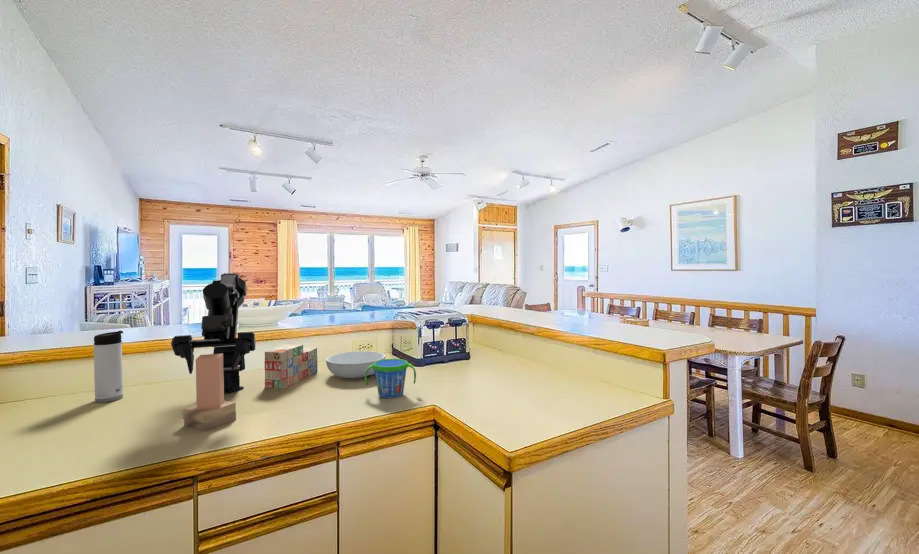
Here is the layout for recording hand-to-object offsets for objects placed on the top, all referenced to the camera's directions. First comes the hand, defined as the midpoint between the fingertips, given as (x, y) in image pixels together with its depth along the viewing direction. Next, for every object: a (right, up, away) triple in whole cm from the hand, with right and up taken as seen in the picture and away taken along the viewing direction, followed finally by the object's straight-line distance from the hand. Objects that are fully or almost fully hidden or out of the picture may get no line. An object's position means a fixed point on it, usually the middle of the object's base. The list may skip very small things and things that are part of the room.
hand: (211, 371), depth 101 cm
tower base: (0, -14, 0) cm, 14 cm away
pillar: (0, -8, -1) cm, 8 cm away
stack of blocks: (+5, -12, +38) cm, 40 cm away
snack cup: (+42, -13, +22) cm, 49 cm away
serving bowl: (+25, -12, +44) cm, 52 cm away
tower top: (0, -11, 0) cm, 11 cm away
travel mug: (-41, -13, +17) cm, 46 cm away
